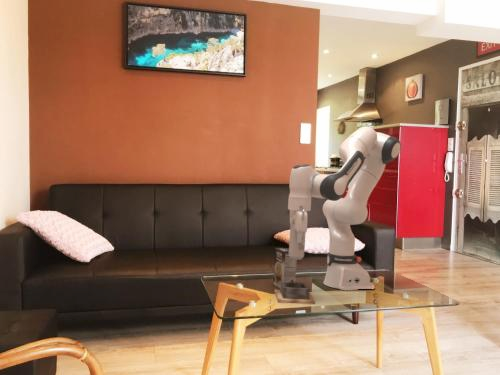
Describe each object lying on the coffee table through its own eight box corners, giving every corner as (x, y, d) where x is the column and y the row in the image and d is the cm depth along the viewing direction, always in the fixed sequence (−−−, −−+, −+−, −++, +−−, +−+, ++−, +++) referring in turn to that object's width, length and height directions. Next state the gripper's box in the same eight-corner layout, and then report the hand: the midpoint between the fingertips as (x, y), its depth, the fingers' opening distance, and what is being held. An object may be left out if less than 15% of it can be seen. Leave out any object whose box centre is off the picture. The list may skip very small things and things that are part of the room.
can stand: (308, 293, 177) (309, 281, 177) (315, 303, 163) (315, 290, 163) (274, 292, 176) (275, 279, 176) (278, 302, 162) (278, 289, 162)
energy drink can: (293, 256, 173) (296, 219, 173) (306, 258, 170) (309, 220, 169) (285, 257, 169) (287, 219, 168) (298, 260, 165) (300, 221, 164)
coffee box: (272, 284, 188) (274, 247, 188) (285, 283, 191) (287, 247, 190) (282, 290, 180) (284, 251, 180) (295, 289, 183) (297, 251, 182)
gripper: (312, 208, 158) (310, 245, 159) (303, 204, 179) (301, 237, 179) (295, 207, 158) (293, 244, 158) (287, 203, 178) (285, 236, 179)
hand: (297, 240), depth 169 cm, fingers closed on energy drink can, 6 cm apart
